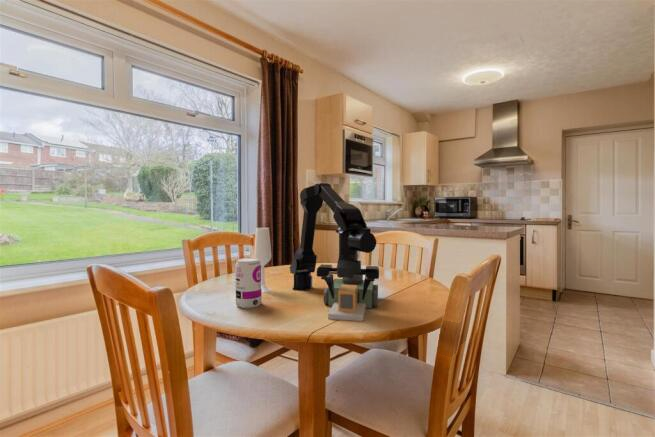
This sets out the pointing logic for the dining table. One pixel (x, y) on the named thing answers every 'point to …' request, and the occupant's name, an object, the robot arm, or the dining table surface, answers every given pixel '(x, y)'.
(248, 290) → the supplement can
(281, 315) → the dining table surface
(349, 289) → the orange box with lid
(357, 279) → the green wheeled block
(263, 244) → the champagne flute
